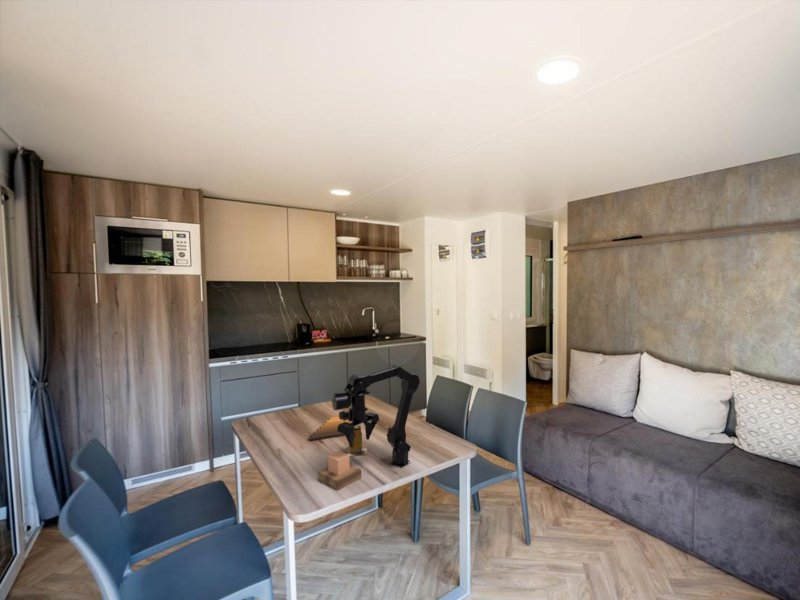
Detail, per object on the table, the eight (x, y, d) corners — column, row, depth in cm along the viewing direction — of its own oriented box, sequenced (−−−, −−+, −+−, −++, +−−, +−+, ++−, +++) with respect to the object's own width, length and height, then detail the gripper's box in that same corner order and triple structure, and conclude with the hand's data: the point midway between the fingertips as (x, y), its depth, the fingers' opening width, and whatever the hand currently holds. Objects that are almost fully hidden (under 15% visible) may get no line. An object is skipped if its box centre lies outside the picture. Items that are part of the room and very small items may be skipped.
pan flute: (310, 442, 185) (358, 434, 195) (310, 436, 185) (358, 428, 195) (302, 426, 208) (346, 420, 218) (302, 420, 208) (345, 414, 218)
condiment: (348, 449, 176) (348, 424, 176) (366, 448, 177) (366, 423, 176) (348, 456, 169) (347, 430, 168) (366, 455, 169) (366, 429, 169)
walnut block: (361, 479, 148) (361, 469, 148) (338, 491, 139) (338, 481, 139) (341, 470, 156) (341, 461, 156) (318, 481, 147) (318, 471, 147)
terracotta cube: (349, 470, 148) (349, 455, 148) (338, 475, 143) (337, 460, 143) (339, 465, 152) (339, 451, 151) (328, 471, 147) (328, 456, 147)
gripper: (360, 397, 164) (362, 431, 164) (327, 408, 149) (329, 446, 150) (379, 401, 157) (380, 437, 157) (346, 413, 142) (347, 453, 143)
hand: (359, 443), depth 152 cm, fingers open, 9 cm apart
